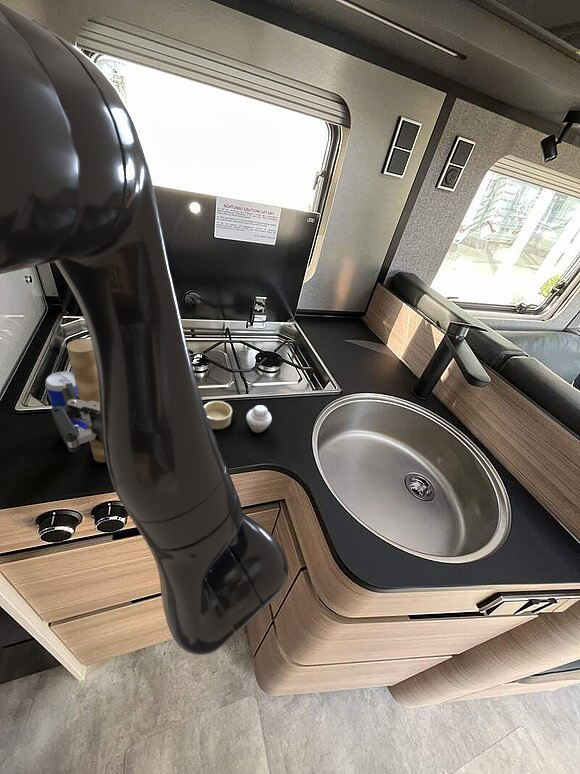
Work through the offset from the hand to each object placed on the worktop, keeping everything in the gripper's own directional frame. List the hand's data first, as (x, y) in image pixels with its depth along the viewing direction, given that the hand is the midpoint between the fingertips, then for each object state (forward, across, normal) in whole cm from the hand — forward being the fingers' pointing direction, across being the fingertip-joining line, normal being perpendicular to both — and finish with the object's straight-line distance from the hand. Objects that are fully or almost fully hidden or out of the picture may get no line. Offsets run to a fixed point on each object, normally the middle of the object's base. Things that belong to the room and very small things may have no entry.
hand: (104, 380), depth 47 cm
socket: (+10, -25, +26) cm, 38 cm away
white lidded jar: (+2, -32, +27) cm, 42 cm away
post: (+11, 0, +26) cm, 29 cm away
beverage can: (+19, +3, +26) cm, 33 cm away
